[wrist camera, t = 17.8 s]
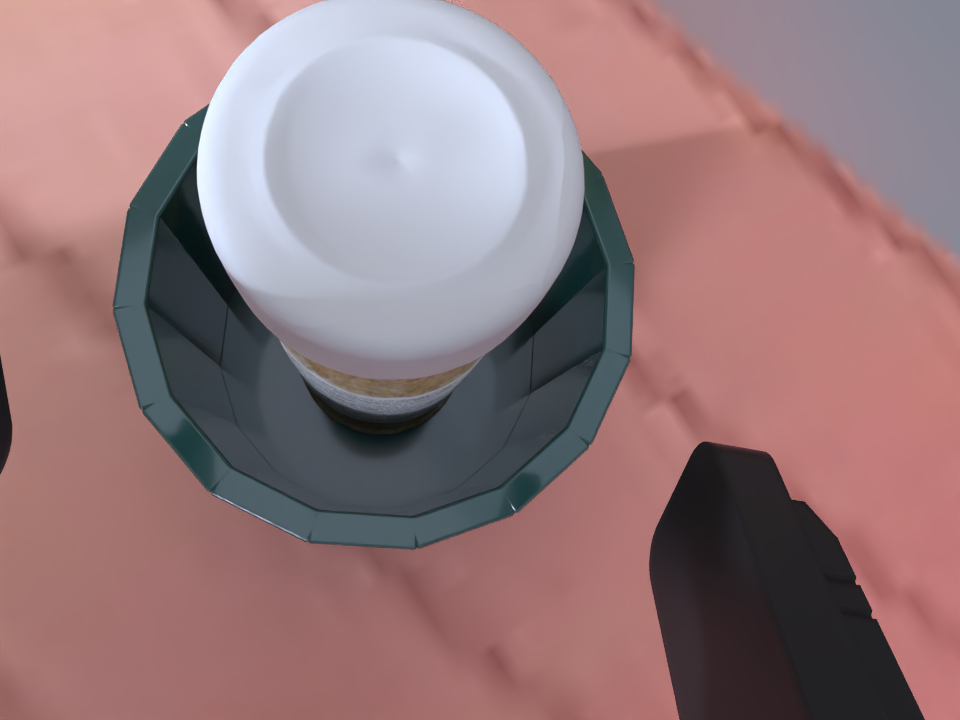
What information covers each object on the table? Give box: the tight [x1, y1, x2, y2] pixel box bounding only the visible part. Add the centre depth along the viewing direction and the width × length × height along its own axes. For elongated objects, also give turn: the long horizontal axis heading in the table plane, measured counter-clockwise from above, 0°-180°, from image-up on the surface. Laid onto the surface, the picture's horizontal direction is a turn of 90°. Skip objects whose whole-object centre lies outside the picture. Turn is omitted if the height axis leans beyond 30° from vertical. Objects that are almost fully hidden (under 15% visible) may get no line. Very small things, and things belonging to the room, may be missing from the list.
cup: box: [113, 104, 635, 550], centre depth 19 cm, size 10×10×8 cm
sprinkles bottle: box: [197, 0, 585, 435], centre depth 15 cm, size 5×5×13 cm
